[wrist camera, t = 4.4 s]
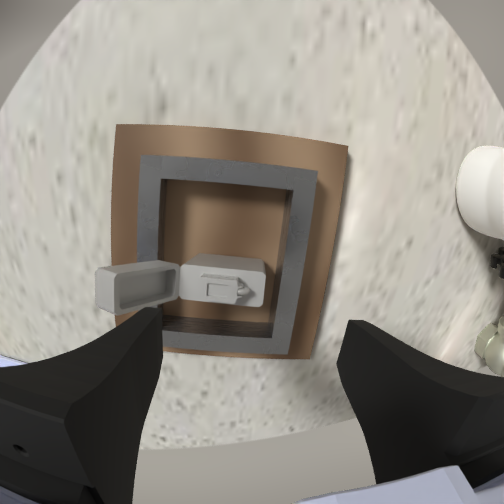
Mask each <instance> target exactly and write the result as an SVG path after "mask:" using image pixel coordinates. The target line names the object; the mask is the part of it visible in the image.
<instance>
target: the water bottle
mask: <svg viewBox="0 0 504 504" xmlns="http://www.w3.org/2000/svg"><path fill="white" fill-rule="evenodd" d="M456 197H457V204H458V208H459V211H460V213H461V216H462V218H463V219H464V221H465V222H466V223H467V225H468V226H469V227H471V228H472V229H474V230H475V231H477V232H480V233H482V234H485V235H487V236H490V237H494V238H498V239H502V240H504V148H503V147H497V146H480V147H477V148H475V149H473V150H472V151H470V152H469V153H468V154H467V156H466V157H465V159H464V160H463V162H462V164H461V166H460V169H459V172H458V176H457V183H456Z"/></svg>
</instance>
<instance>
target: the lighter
mask: <svg viewBox="0 0 504 504" xmlns="http://www.w3.org/2000/svg"><path fill="white" fill-rule="evenodd" d="M265 279H266V273H265V265H264V261H263V260H262V259H256V258H245V257H235V256H224V255H214V254H204V253H199V254H197V255H196V256H195V257H193V258H192V259H190V260H189V261H187V262H186V263H185V264H183V265H182V266H181V267H180V266H179V265H178V264H175V263H170V262H165V261H161V260H155V261H147V262H139V263H131V264H124V265H116V266H108V267H100V268H98V269H97V270H96V272H95V301H96V305H97V306H98V307H99V308H101V309H103V310H106V311H108V312H110V313H113V314H115V315H117V316H118V315H122V314H126V313H129V312H133V311H137V310H140V309H143V308H144V307H151V306H154V305H158V304H162V303H165V302H169V301H172V300H176V299H177V298H178V296H180V297H181V299H186V300H195V301H203V302H212V303H222V304H231V305H241V306H252V307H260V306H261V305H262V304H263V298H264V289H265Z"/></svg>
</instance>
